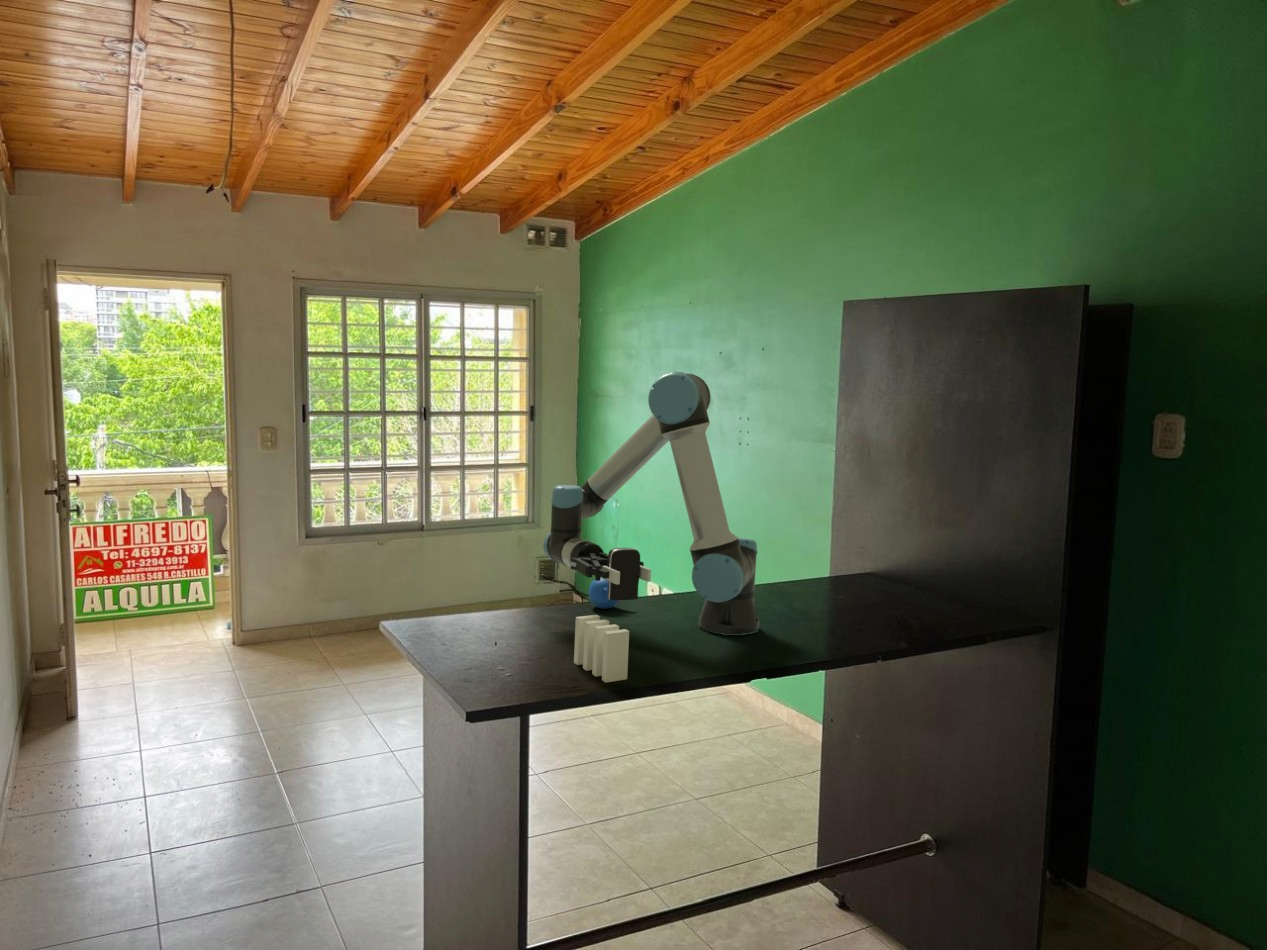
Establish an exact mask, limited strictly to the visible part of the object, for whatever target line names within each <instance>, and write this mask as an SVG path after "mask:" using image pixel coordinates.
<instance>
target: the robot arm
mask: <svg viewBox="0 0 1267 950" xmlns="http://www.w3.org/2000/svg"><path fill="white" fill-rule="evenodd" d="M711 396H712V395H711V391H710V388H709V385H708V384H707V383H706V381H705V380H704V379H703V378H701V377H700V376H698V375H695V374H693V373H684V372H682V371H674V372H670V373H666V374H664V375H661V376H660V377H658V378H657V379H656V380H655V381H654V383H653V384H652V385H651V387H650V389H649V392H648V398H647V401H648V402H647V403H648V407H649V410H650V412H651V414H652V415H650V417H649V418H648V419H647V420H646V421H645V422H643V424H642V425H640V426H639V427H638V429H637V430H636V431H635V432H634V433H633V434H632V435H631V436H630V437H629V438H628V439H626V441H625V442H624V443H623V444H622V445H621V446H619V448H618V449H616V451H615V452H614V453H613V454H612V455H611V456H609V458H608V459H607V460H606V461H605V462H604V463H603V464H602V465H601V466H600V467H599V468H598V469H597V470H596V471H595V472H593V474H592V475H591V476H590V477H589V478H588V479H587V480H586V481H585V482H584V483H583V484H582V485H581V486H579V485H574V484H572V485H571V484H570V485H569V484H559V485H556V486H554V487H553V489H552V495H551V514H550V515H551V517H550V518H551V519H550V520H551V521H550V533H548V534H547V535H546V536H545V538H544V540H543V544H542V545H543V546H542V548H543V551H544V554H545V556H546V557H548V558H549V559H550V560H552V561H553V562H555V563H557V564H560V565H563V566H566V567H568V568H570V570H573V571H575V572H576V573H580V574H582V575H583V576H584V577H587V578H592V577H593V576H594V577H595V578H594V580H596V581H600V580H601V577H602V578H603V579H605V580H607V581H610V582H612V583H614V584H620V572H619V571H617V570H614V569H612V568H610V567H607V562H608V554H607V553H606V552H605V551H604V550H603V548H602V547H601V546H600V545H598V544H596V543H594V542H591V541H589V540H586V539H584V538H582V524H583V523H582V522H583V520H584V519H589V518H592V517H595V516H596V515H597V514H599V513H601V511H602V510H603V508H604V505H605V504H606V503H607V502H608V501H609V500H610V499H611V498H612V497H613V496H614V495H615V494H616V493H618V491H619V490H620V489H621V488H622V487H623V486H624V485H625V484H627V482H629V480H630V479H631V478H633V476H635V474H637V472H639V471H640V469H641V468H643V467H644V465H646V464H647V463H648V462H649V461H650V460H651V459H652V458H653V457H654V456H655V455H657V453H659V451H660V450H661V449H662V448H663V447H665V446H666V445H667V443H668V442H669V444H670V447H671V448H670V449H671V452H672V456H673V460H674V464H675V468H676V471H677V476H678V481H679V484H680V488H681V492H682V497H683V500H684V504H685V509H686V513H687V516H688V521H689V524H690V528H691V533H692V537H693V542H692V544H691V545H690V546H689V552H690V555H691V559H692V565H693V567H692V571H691V572H692V573H691V581H692V585H693V587H694V590H695V591H696V592H697V593H698V595H700V596H701V597H702V598H704V599H705V600H704V603H703V606H702V609H701V613H700V614H699V617H698V627H699V626H700V627H701V628H702V629H704V630H708V631H712V632H717V633H724V634H742V633H750V632H753V631H756V630H757V629H758V628H759V629H760V619H759V615H758V611H757V606H756V603H755V599H754V598H755V583H756V572H757V571H756V570H757V568H756V567H757V555H758V550H757V549H758V545H757V542H756V541H755V539H751V538H744V537H739V536H737V535H736V534H734V533H732V532H731V530H730V527H729V522H728V519H727V514H726V511H725V506H724V503H723V499H722V494H721V491H720V487H719V482H718V479H717V474H716V470H715V466H714V463H713V459H712V454H711V453H712V452H711V450H710V445H709V441H708V437H707V434H706V432H707V430H708V428H709V426H710V425H711V423H710V422H711V421H710V419H709V413H708V409H709V406H710V404H711V399H712V398H711ZM644 563H645V562H644V561H641V560H640V575H639V580H642V581H645V582H647V583H651V580H652V579H651V577H652V576H651V575H652V569H651V568H649V567H646V566H644V565H645V564H644ZM700 627H699V628H700ZM701 628H700V629H701ZM702 629H701V630H702ZM704 630H703V631H704Z"/></svg>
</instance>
